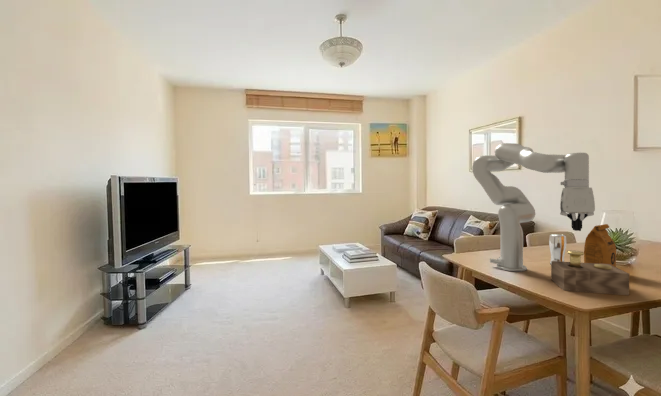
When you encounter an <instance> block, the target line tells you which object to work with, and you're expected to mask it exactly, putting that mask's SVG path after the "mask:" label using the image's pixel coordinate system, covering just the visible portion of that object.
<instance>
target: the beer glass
mask: <svg viewBox="0 0 661 396" xmlns="http://www.w3.org/2000/svg"><path fill="white" fill-rule="evenodd" d="M548 245H549V251H550V262H549V264H550V265H551V261H559V262H565V254H566V250H567V236H566V234H559V233H551V234H549V238H548Z"/></svg>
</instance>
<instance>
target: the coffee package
mask: <svg viewBox="0 0 661 396" xmlns="http://www.w3.org/2000/svg"><path fill="white" fill-rule="evenodd" d="M607 229H610V225H609V224H608V223H605V224H599V225H595V226H593V228H592V229H591V230H590V232H589V233H588V234H587V236H586V237H585V240H584V248H583V252H584V255H583V263H598V264H610V265H612V266H614V267H616V268H617V246H616V243H615V242H614V240H613V238H612V237H611V235H609V232H608V230H607Z"/></svg>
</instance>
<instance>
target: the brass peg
mask: <svg viewBox="0 0 661 396" xmlns="http://www.w3.org/2000/svg"><path fill="white" fill-rule="evenodd" d="M566 253H567V255H569V262H570V267H574V268H581V263H582V262H581V260H582V259H581V258H582V256H584V251H581V250H580V251H579V250H572V249H571V250H567V251H566Z"/></svg>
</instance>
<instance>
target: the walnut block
mask: <svg viewBox="0 0 661 396" xmlns="http://www.w3.org/2000/svg"><path fill="white" fill-rule="evenodd" d="M550 261H551V260H550ZM550 265H551V266H550V267H551V269H550V271H551V272H550V274H551V275H550V276H551V277H550V278H551V279H550V280H551V281H552V282H553V283H554V284H556V285H557V286H558V287H559V288H560V289H562V290H563V291H569V292H581V293H582V292H583V293H593V294H594V293H595V294H607V295H608V294H609V295H619V296H620V295H621V296H630V273H628V272H627V271H625V270H622V269H621V268H618V267H617V266H616V267H614V266H612V265H610V264H598V263H584V262H581V268H574V267H570V261H564V262H559V261H551V264H550Z"/></svg>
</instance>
